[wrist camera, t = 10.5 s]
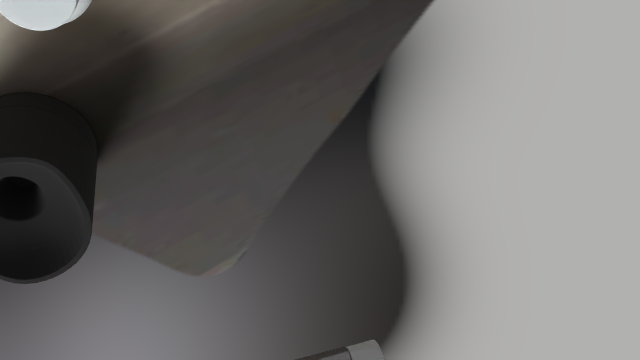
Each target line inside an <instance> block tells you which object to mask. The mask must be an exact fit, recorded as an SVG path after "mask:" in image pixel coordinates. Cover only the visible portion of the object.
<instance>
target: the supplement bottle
mask: <svg viewBox="0 0 640 360" xmlns="http://www.w3.org/2000/svg"><path fill="white" fill-rule="evenodd" d="M91 1H92V0H0V13H1V14H2V15H3V16H4V17H6V18H7V19H8V20H10V21H11V22H13V23H14V24H16V25H18V26H21V27H23V28H26V29H30V30H37V31H44V30H51V29H54V28H57V27H59V26H61V25H62V24H65V23H68V22H71V21H73V20H74V19H76V18H78V17H79V16H80V15H82V14H83V13H84V12H85V10H86V9H87V8H88V7H89V5H90V3H91Z"/></svg>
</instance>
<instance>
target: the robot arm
mask: <svg viewBox="0 0 640 360" xmlns="http://www.w3.org/2000/svg"><path fill="white" fill-rule="evenodd" d="M297 360H385V359H384V357H383V355H382V352H381V350H380V347H379V345H378V344H377V343H376V342H375V340H371V341H367V342H363V343H360V344H356V345H352V346H348V347H346V348H345V347H341V348H337V349H333V350H330V351H326V352H322V353H319V354H315V355H312V356H307V357H304V358H300V359H297Z"/></svg>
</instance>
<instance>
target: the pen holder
mask: <svg viewBox="0 0 640 360" xmlns="http://www.w3.org/2000/svg"><path fill="white" fill-rule="evenodd" d="M96 168H97V145H96V140H95V137H94V134H93V132H92V130H91V128H90V126H89V125H88V123H87V122H86V121H85V119H84V118H83V117H82V116H81V115H80V114H79V113H78V112H77V111H75V110H74V109H73V108H71V107H70V106H68V105H66V104H65V103H63V102H61V101H59V100H56V99H54V98H51V97H48V96H44V95H40V94H32V93H16V94H9V95H5V96H1V97H0V279H2V280H5V281H8V282H12V283H19V284H29V283H37V282H42V281H45V280H48V279H51V278H54V277H56V276H58V275H60V274H62V273H64V272H65V271H66V270H68V269H69V268H71V267H72V266H73V265H74V264H76V263H77V262H78V261H79V259H80V258H81V257H82V256H83V254H84V253H85V251H86V249H87V247H88V245H89V243H90V239H91V234H92V222H93V209H94V196H95V183H96Z"/></svg>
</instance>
